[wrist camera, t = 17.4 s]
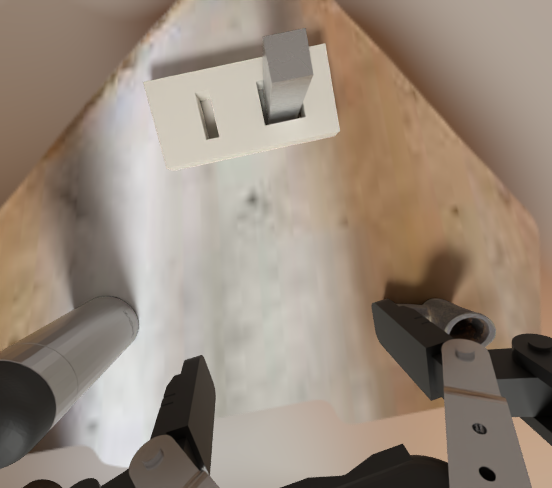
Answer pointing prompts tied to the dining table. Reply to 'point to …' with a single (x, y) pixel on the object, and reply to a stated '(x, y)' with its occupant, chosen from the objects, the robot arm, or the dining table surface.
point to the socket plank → (235, 112)
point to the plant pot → (42, 484)
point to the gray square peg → (285, 74)
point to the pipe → (457, 320)
